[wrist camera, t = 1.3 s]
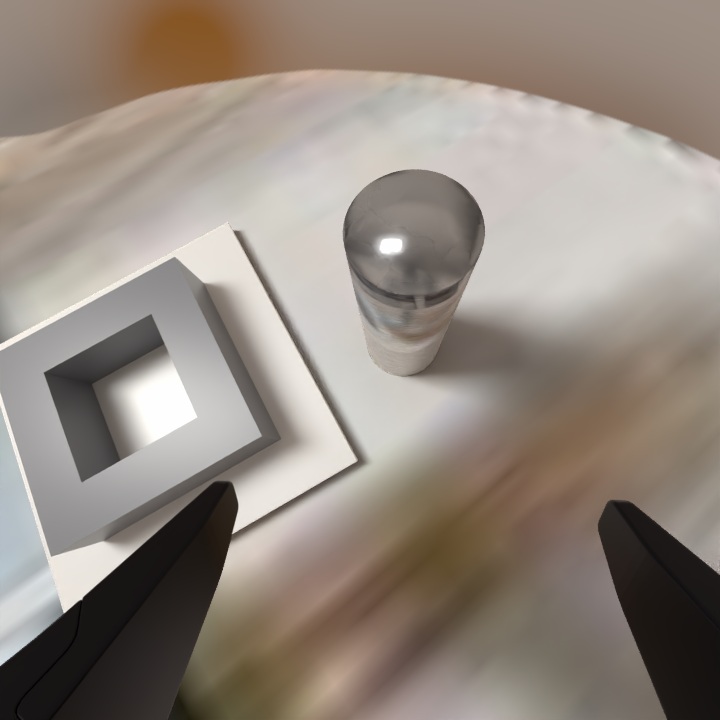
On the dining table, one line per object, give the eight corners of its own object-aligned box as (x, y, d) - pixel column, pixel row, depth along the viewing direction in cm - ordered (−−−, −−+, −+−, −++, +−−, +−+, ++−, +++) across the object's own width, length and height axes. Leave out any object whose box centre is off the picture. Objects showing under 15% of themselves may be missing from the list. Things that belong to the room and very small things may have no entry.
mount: (358, 460, 23) (351, 461, 19) (83, 621, 22) (7, 662, 18) (233, 230, 27) (203, 187, 23) (-1, 356, 27) (-78, 337, 22)
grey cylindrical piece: (452, 353, 24) (513, 250, 12) (389, 389, 24) (387, 321, 12) (414, 295, 25) (435, 147, 13) (354, 329, 25) (318, 210, 13)
